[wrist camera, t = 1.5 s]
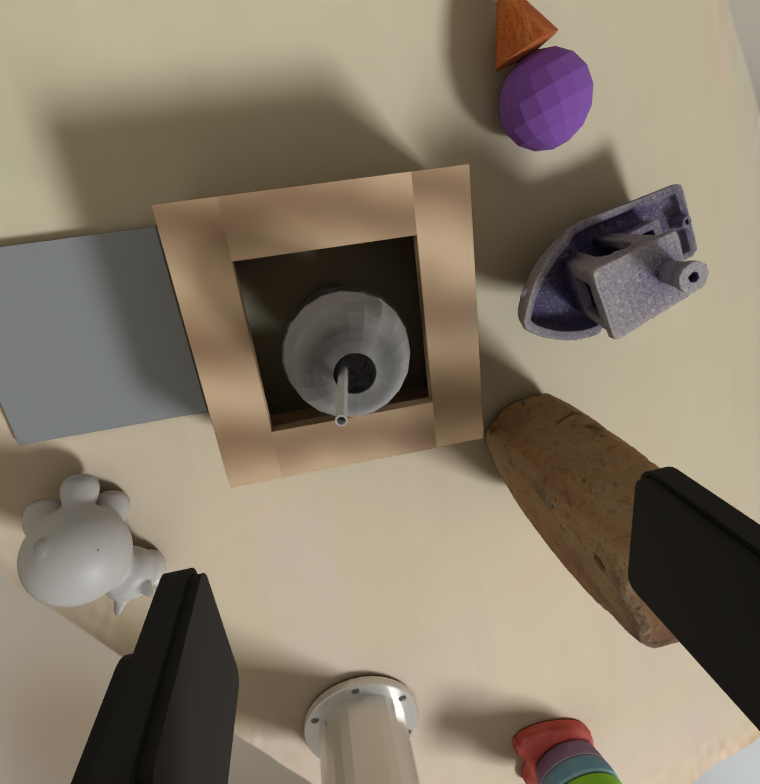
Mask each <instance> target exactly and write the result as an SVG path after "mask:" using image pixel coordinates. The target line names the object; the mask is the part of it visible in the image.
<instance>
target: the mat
mask: <svg viewBox="0 0 760 784" xmlns="http://www.w3.org/2000/svg"><path fill="white" fill-rule="evenodd" d="M0 403H1V405H2V408H3V410H4V412H5V414H6V417H7V419H8V421H9V423H10V425H11V428H12V430H13V432H14V434H15V437H16V439H17V441H18V443H19V445H22V444H28V443H34V442H39V441H45V440H51V439H56V438H62V437H67V436H73V435H79V434H84V433H90V432H96V431H101V430H107V429H112V428H118V427H124V426H129V425H135V424H141V423H146V422H152V421H157V420H163V419H169V418H174V417H180V416H186V415H191V414H197V413H202V412H207V411H208V406H207V403H206V399H205V396H204V392H203V388H202V385H201V381H200V378H199V374H198V371H197V367H196V363H195V360H194V356H193V353H192V349H191V346H190V342H189V338H188V335H187V331H186V328H185V324H184V320H183V317H182V313H181V310H180V306H179V303H178V299H177V295H176V292H175V288H174V285H173V281H172V278H171V274H170V270H169V267H168V263H167V260H166V256H165V253H164V249H163V245H162V242H161V238H160V235H159V231H158V228H157V226H155V227H147V228H140V229H132V230H125V231H117V232H110V233H102V234H95V235H87V236H80V237H72V238H65V239H57V240H50V241H42V242H35V243H27V244H20V245H12V246H5V247H0Z"/></svg>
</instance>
